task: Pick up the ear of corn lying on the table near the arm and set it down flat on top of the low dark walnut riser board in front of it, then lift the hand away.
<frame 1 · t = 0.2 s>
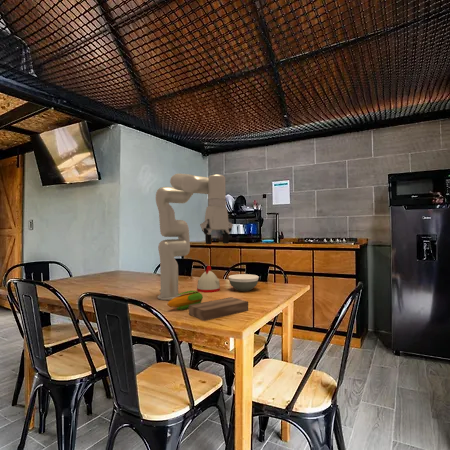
hand: (217, 243, 129), 31 cm above the table, tool pointing down, fingers open, 9 cm apart
bowl: (243, 290, 184), on the table
kitchen timer: (208, 290, 184), on the table
corn: (185, 308, 142), on the table
riser: (219, 312, 134), on the table
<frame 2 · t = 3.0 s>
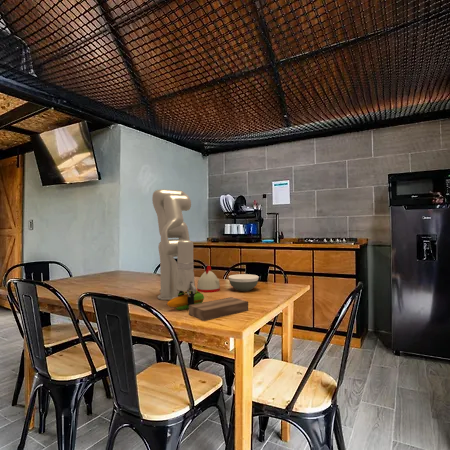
hand: (185, 303, 142), 2 cm above the table, tool pointing down, fingers open, 8 cm apart
corn: (186, 308, 142), on the table, touching gripper
everything else where it was.
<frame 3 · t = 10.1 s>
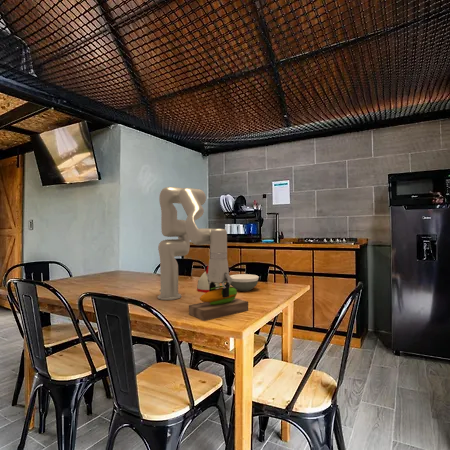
hand: (219, 295, 134), 8 cm above the table, tool pointing down, fingers open, 9 cm apart
corn: (219, 303, 133), point 4 cm above the table, touching riser
everything else where it was.
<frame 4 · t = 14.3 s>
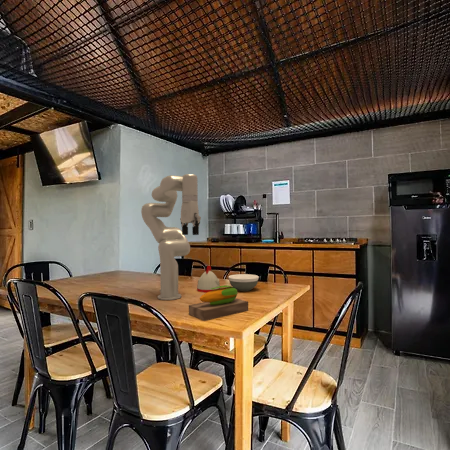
hand: (190, 234, 147), 34 cm above the table, tool pointing down, fingers open, 9 cm apart
nothing on the table moved.
at the end: corn inside the target area on the riser (0.5 cm from its centre), point 3.8 cm above the riser's base; corn touching riser; the gripper is holding nothing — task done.
